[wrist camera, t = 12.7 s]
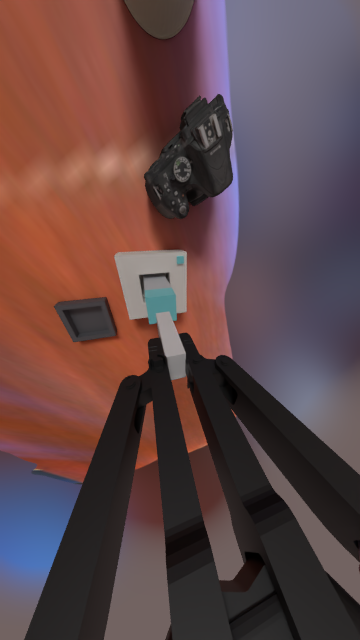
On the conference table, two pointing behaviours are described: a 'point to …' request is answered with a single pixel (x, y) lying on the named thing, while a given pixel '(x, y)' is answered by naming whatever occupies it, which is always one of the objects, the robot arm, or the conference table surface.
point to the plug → (159, 296)
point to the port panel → (151, 263)
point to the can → (160, 15)
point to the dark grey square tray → (87, 318)
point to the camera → (193, 160)
